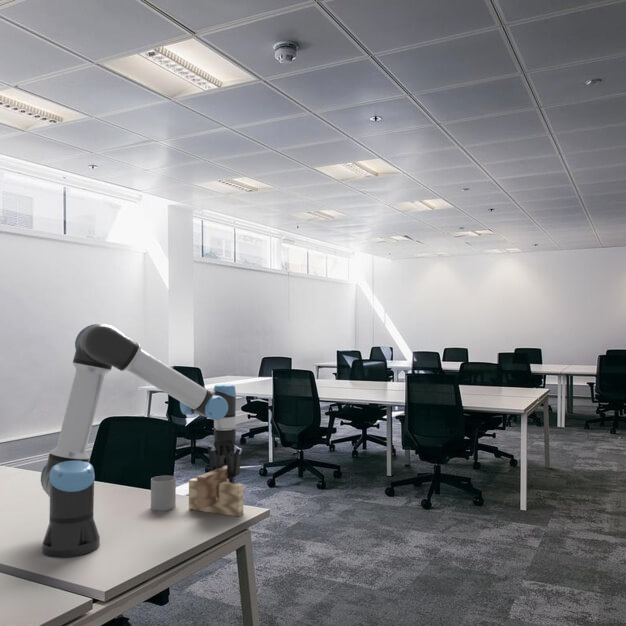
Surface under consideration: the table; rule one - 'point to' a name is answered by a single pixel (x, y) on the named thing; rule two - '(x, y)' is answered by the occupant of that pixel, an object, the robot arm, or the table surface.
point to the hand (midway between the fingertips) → (224, 495)
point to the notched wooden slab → (220, 499)
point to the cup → (163, 492)
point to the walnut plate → (210, 486)
